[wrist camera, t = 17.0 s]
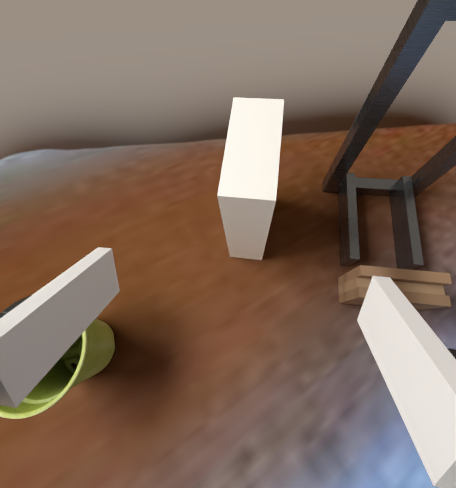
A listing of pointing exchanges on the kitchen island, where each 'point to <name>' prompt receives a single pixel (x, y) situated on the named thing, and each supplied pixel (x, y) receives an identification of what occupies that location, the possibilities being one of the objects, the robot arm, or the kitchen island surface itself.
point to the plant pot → (68, 371)
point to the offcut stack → (408, 281)
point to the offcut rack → (374, 108)
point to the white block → (250, 174)
